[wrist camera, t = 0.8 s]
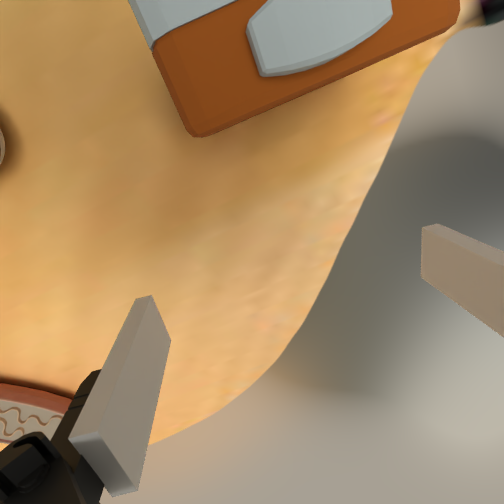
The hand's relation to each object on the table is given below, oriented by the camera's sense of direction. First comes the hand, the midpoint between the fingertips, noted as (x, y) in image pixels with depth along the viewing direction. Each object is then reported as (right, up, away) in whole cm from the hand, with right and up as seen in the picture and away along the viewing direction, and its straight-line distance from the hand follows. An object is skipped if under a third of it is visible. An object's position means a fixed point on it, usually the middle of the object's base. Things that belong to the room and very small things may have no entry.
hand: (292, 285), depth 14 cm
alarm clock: (-1, +23, +19) cm, 30 cm away
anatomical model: (-36, -23, +34) cm, 55 cm away
